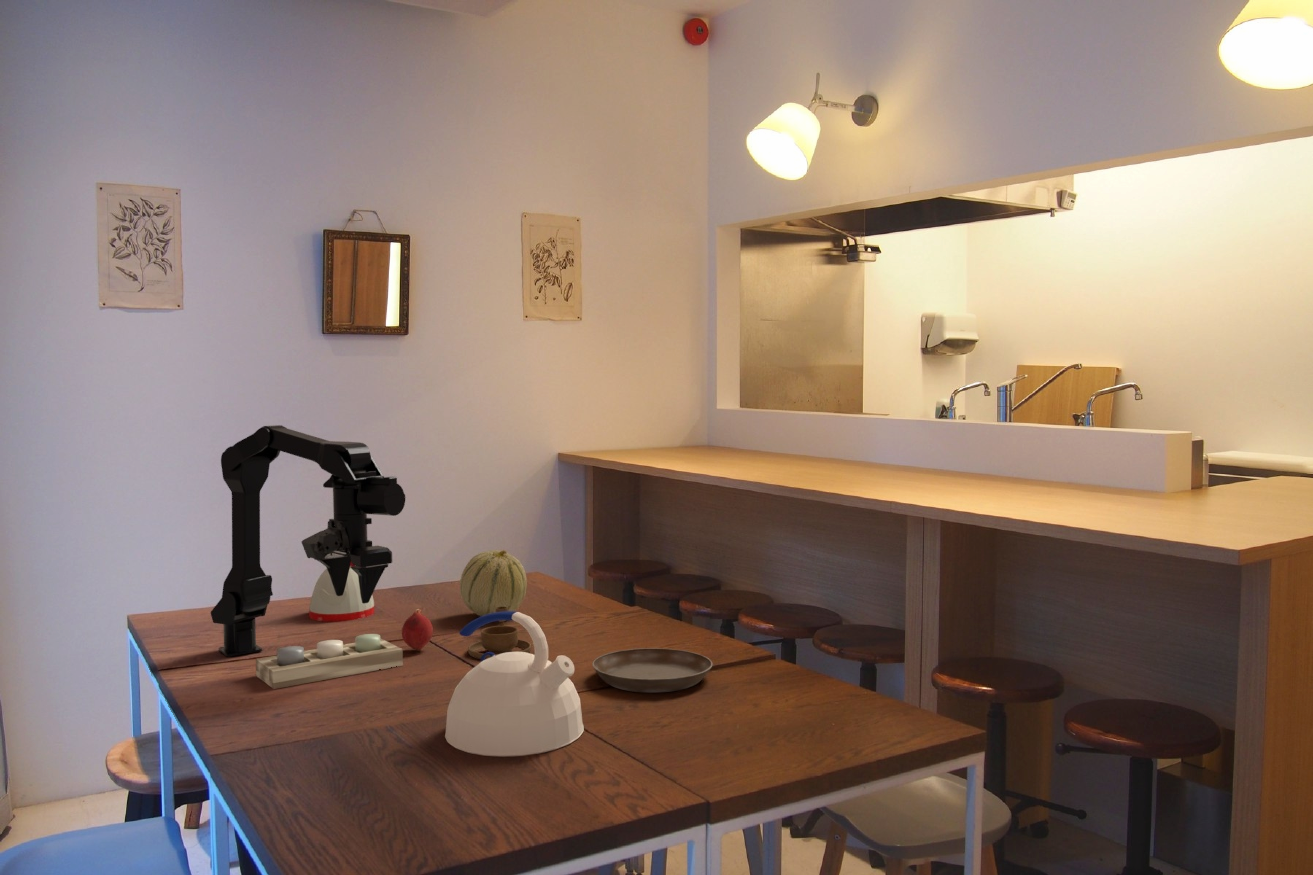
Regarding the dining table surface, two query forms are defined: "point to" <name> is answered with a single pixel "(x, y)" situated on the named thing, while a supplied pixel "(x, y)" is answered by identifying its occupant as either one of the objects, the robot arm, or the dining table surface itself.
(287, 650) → the button slate
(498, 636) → the place setting
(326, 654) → the button cream
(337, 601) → the kitchen timer
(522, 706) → the kettle
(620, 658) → the plant saucer
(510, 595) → the cantaloupe
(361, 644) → the button sage
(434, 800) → the dining table surface
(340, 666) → the wooden compartment tray
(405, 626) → the onion
